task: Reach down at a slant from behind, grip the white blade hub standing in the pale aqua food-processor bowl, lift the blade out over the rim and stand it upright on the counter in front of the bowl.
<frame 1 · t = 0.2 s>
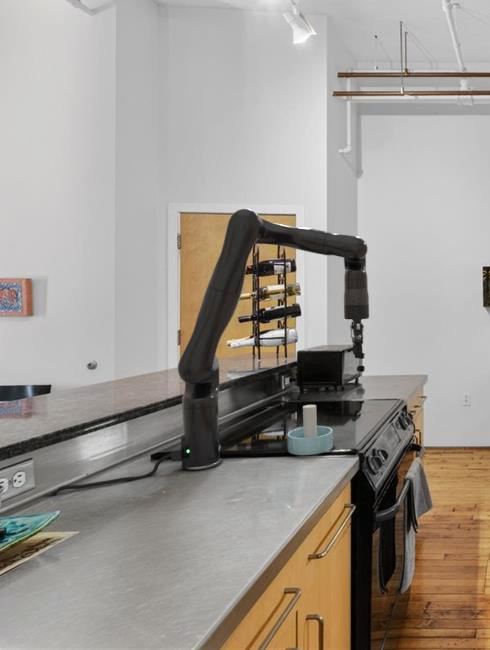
hand: (357, 356, 144), 29 cm above the counter, tool pointing down, fingers open, 8 cm apart
processor bowl: (310, 449, 146), on the counter
blade: (310, 447, 146), point 1 cm above the counter, touching processor bowl
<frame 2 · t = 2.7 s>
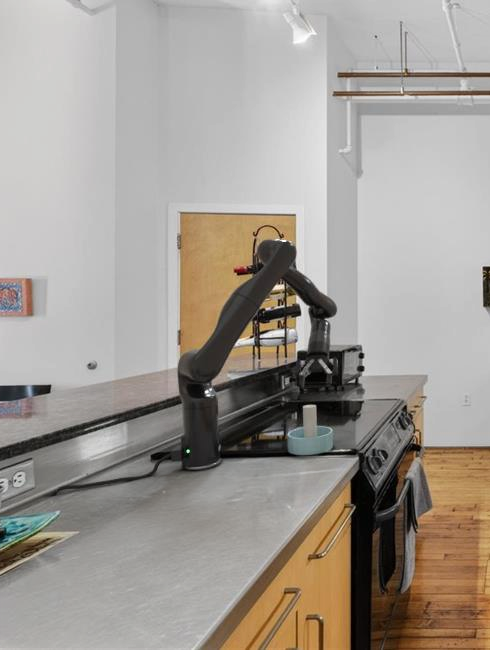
hand: (314, 386, 156), 18 cm above the counter, tool tilted 40°, fingers open, 8 cm apart
nothing on the counter moved.
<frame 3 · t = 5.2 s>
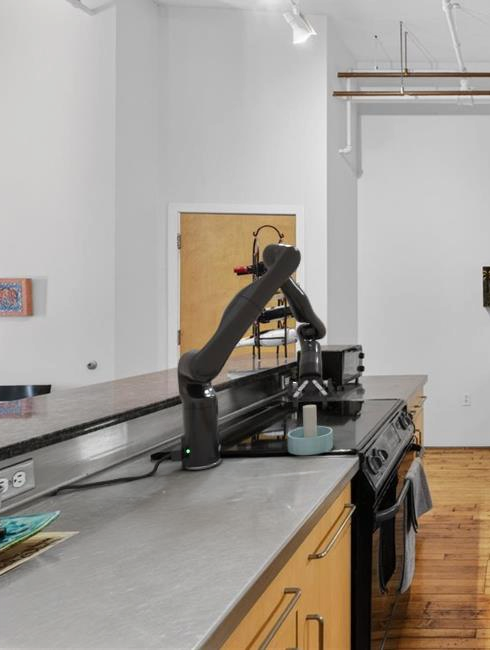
hand: (310, 408, 151), 12 cm above the counter, tool tilted 45°, fingers open, 8 cm apart
nothing on the counter moved.
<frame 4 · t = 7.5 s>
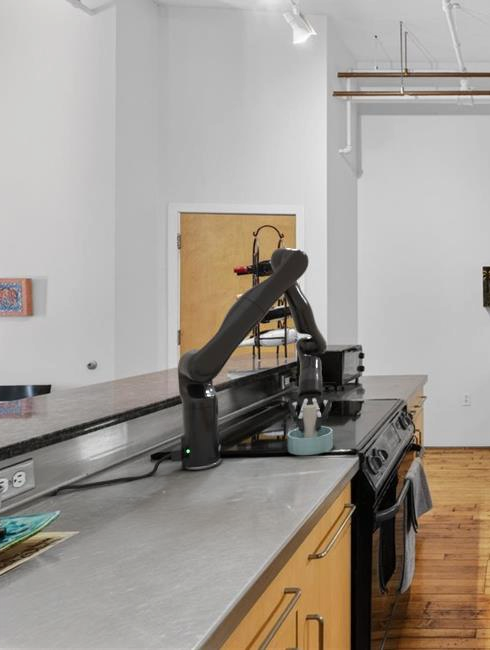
hand: (310, 430, 144), 6 cm above the counter, tool tilted 45°, fingers closed on blade, 4 cm apart
blade: (310, 447, 146), point 1 cm above the counter, touching gripper, processor bowl
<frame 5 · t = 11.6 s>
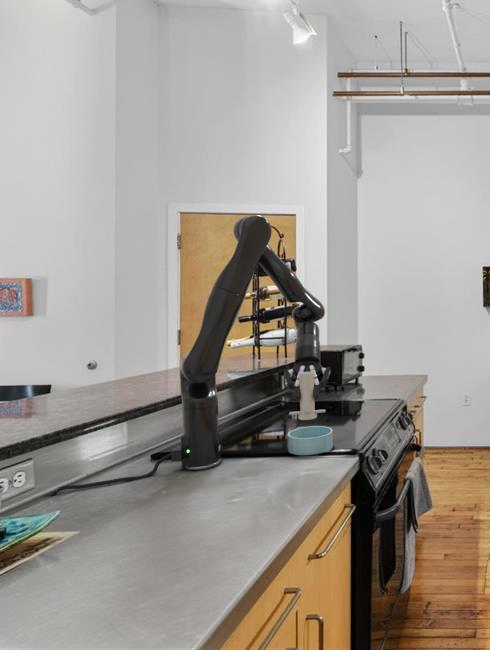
hand: (306, 398, 133), 18 cm above the counter, tool tilted 45°, fingers closed on blade, 4 cm apart
blade: (307, 417, 135), point 13 cm above the counter, touching gripper
when the fingers open (6 cm above the counter, at t = 15.6 s): blade stays where it is, on the counter.
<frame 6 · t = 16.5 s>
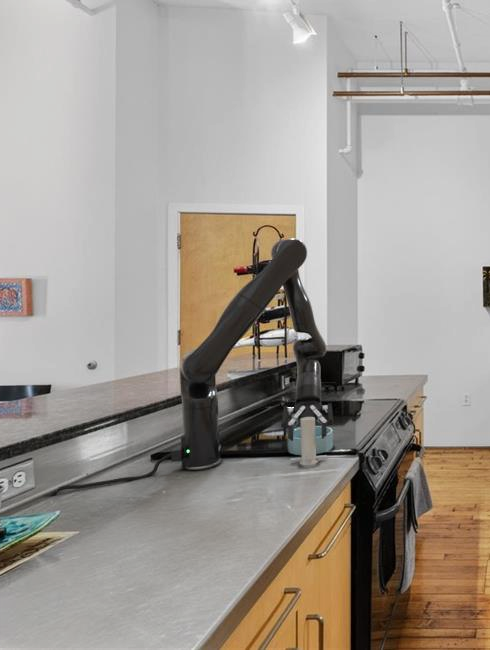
hand: (307, 438, 132), 8 cm above the counter, tool tilted 45°, fingers open, 8 cm apart
blade: (309, 463, 133), on the counter
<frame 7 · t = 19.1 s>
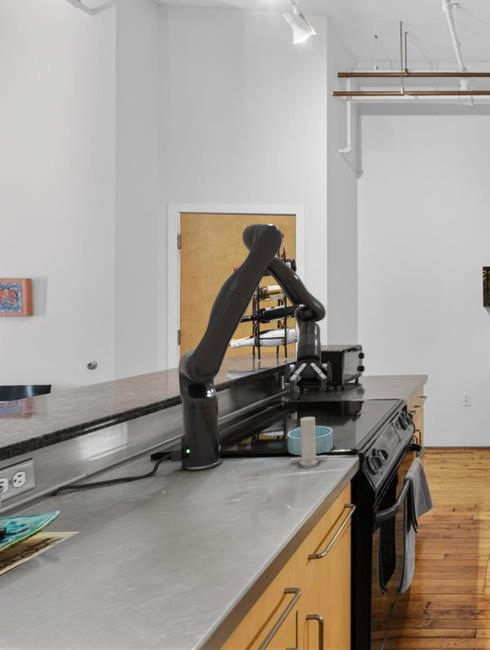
hand: (308, 392, 142), 19 cm above the counter, tool tilted 45°, fingers open, 8 cm apart
nothing on the counter moved.
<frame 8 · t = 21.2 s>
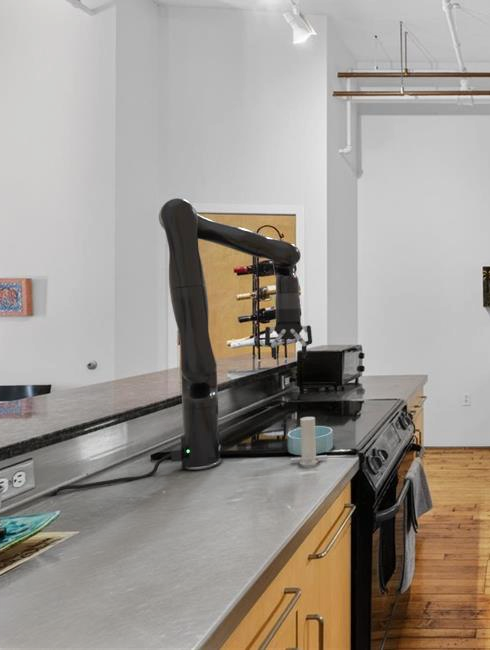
hand: (289, 358, 149), 28 cm above the counter, tool pointing down, fingers open, 8 cm apart
nothing on the counter moved.
at the end: blade inside the target area (0.1 cm from its centre), on the counter; blade tilted 0°; the gripper is holding nothing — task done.
